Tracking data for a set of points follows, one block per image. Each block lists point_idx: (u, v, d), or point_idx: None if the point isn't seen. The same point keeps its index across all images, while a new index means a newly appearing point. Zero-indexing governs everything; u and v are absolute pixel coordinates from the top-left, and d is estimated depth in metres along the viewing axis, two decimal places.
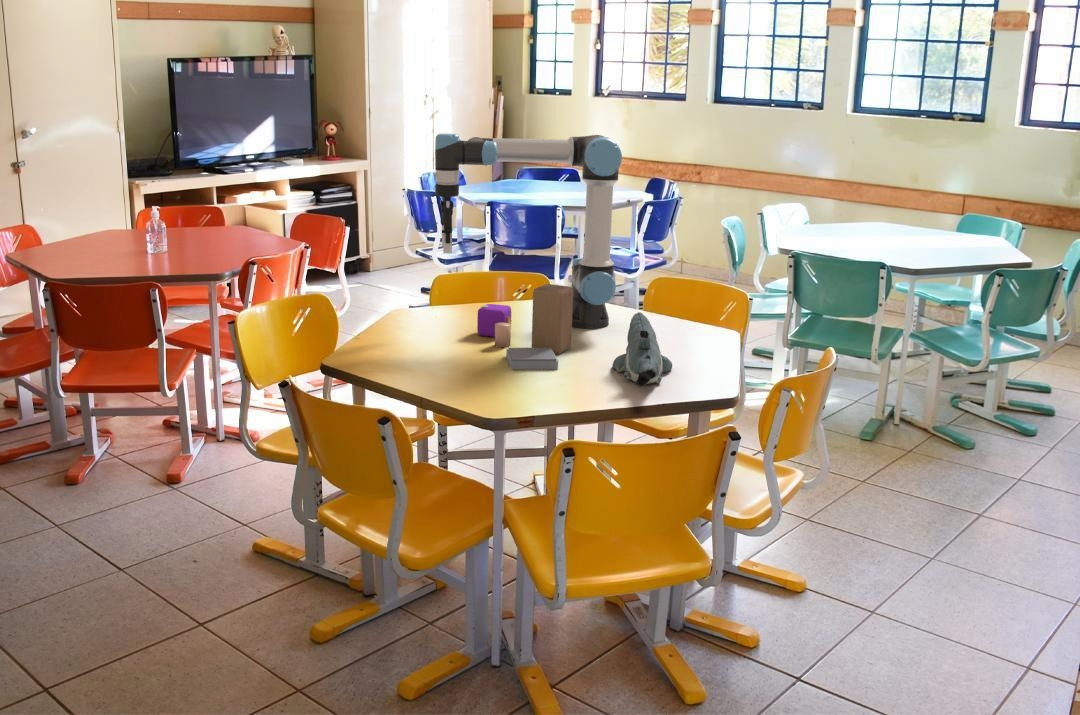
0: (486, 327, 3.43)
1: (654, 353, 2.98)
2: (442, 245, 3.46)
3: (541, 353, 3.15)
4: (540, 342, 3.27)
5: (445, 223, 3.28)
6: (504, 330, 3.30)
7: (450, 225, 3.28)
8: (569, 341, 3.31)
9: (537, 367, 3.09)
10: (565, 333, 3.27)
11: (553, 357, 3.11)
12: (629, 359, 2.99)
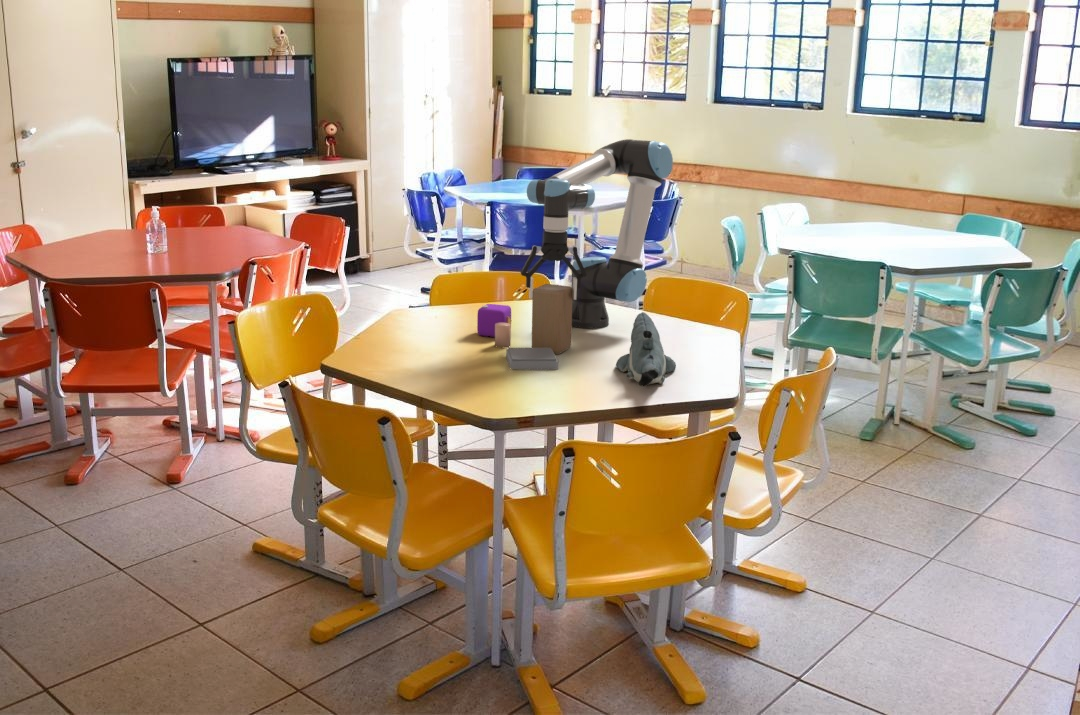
0: (486, 327, 3.43)
1: (657, 353, 2.98)
2: None
3: (541, 353, 3.15)
4: (540, 342, 3.27)
5: (523, 266, 3.24)
6: (504, 330, 3.30)
7: (523, 268, 3.22)
8: (569, 341, 3.31)
9: (537, 367, 3.09)
10: (565, 332, 3.27)
11: (553, 357, 3.11)
12: (632, 359, 3.00)
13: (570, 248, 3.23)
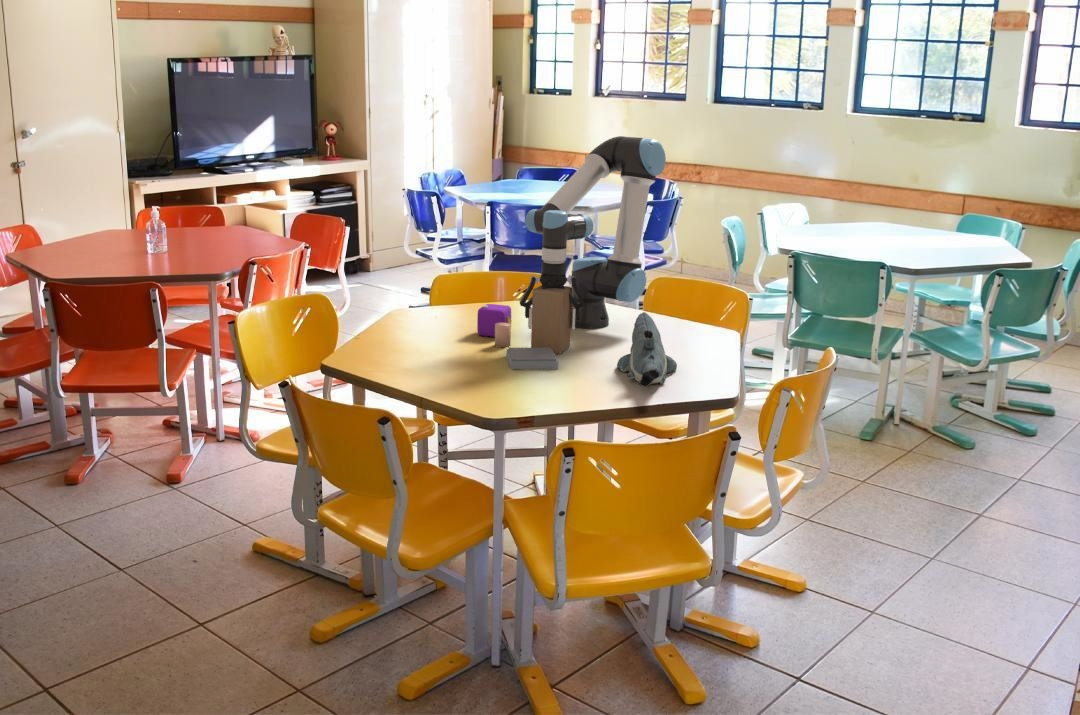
0: (486, 327, 3.43)
1: (658, 353, 2.98)
2: (571, 326, 3.31)
3: (541, 353, 3.15)
4: (539, 342, 3.27)
5: None
6: (504, 330, 3.30)
7: (522, 299, 3.25)
8: (568, 341, 3.31)
9: (537, 367, 3.09)
10: (564, 333, 3.27)
11: (553, 357, 3.11)
12: (633, 359, 3.00)
13: (568, 279, 3.25)
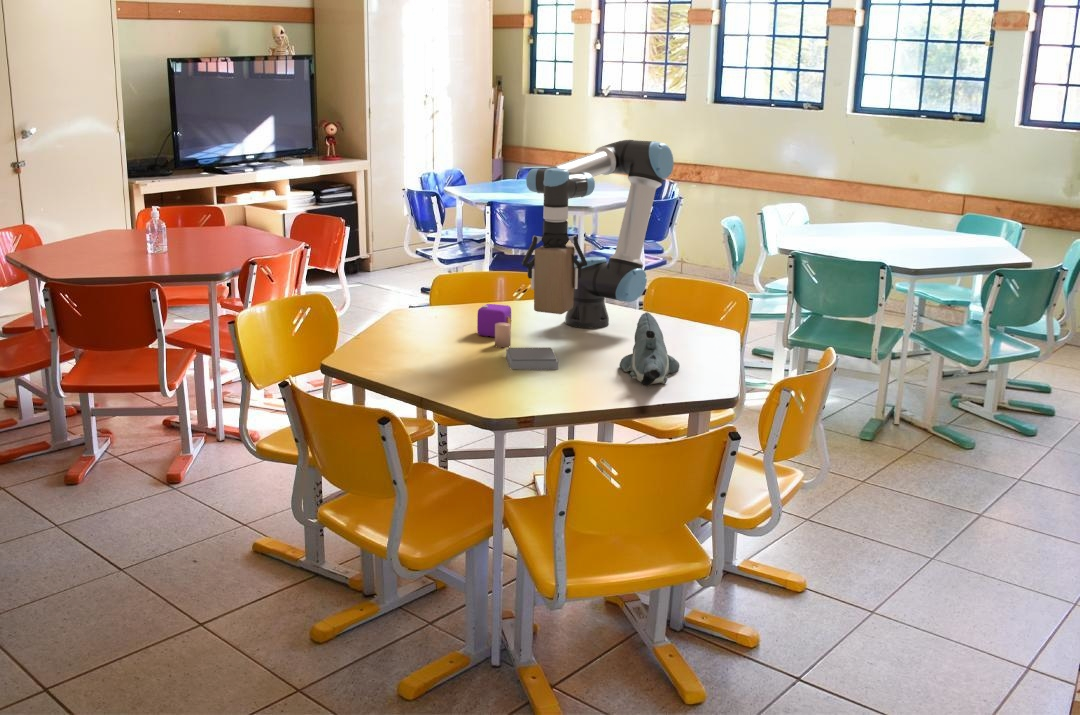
0: (486, 327, 3.43)
1: (660, 353, 2.98)
2: None
3: (541, 353, 3.15)
4: (542, 302, 3.24)
5: None
6: (504, 330, 3.30)
7: (524, 259, 3.22)
8: (571, 301, 3.28)
9: (537, 367, 3.09)
10: (567, 292, 3.24)
11: (553, 357, 3.11)
12: (635, 359, 3.00)
13: (571, 237, 3.22)
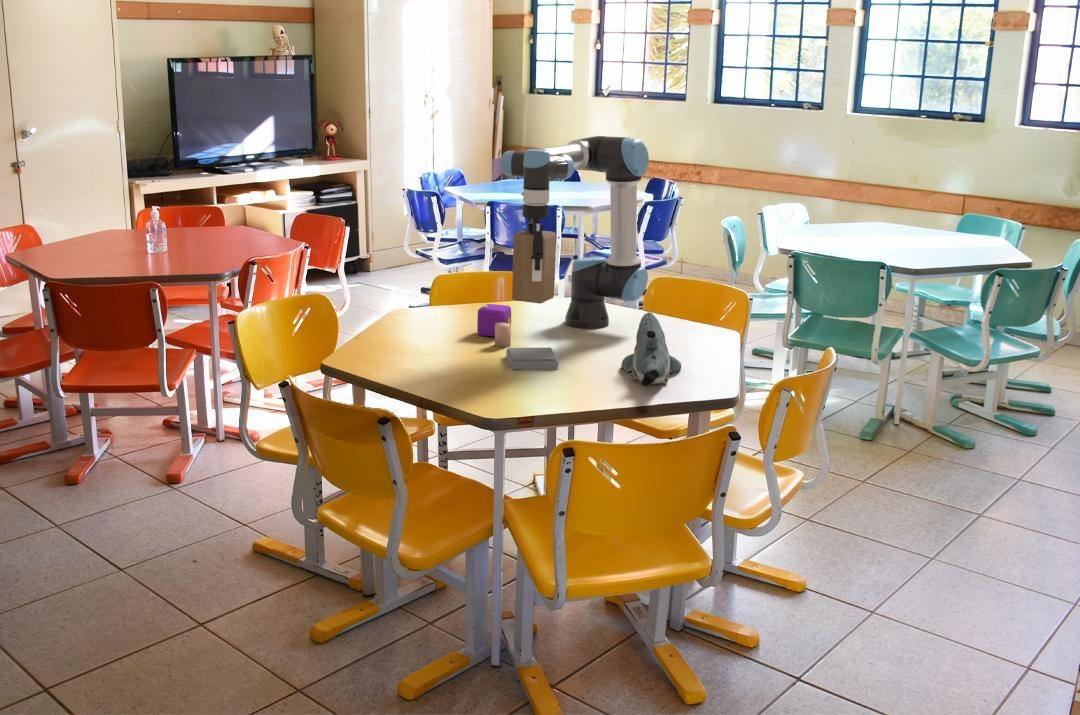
0: (486, 327, 3.43)
1: (660, 353, 2.98)
2: None
3: (541, 353, 3.15)
4: (546, 291, 3.07)
5: (535, 248, 2.98)
6: (504, 330, 3.30)
7: (541, 250, 2.98)
8: None
9: (537, 367, 3.09)
10: None
11: (553, 357, 3.11)
12: (636, 359, 3.00)
13: None
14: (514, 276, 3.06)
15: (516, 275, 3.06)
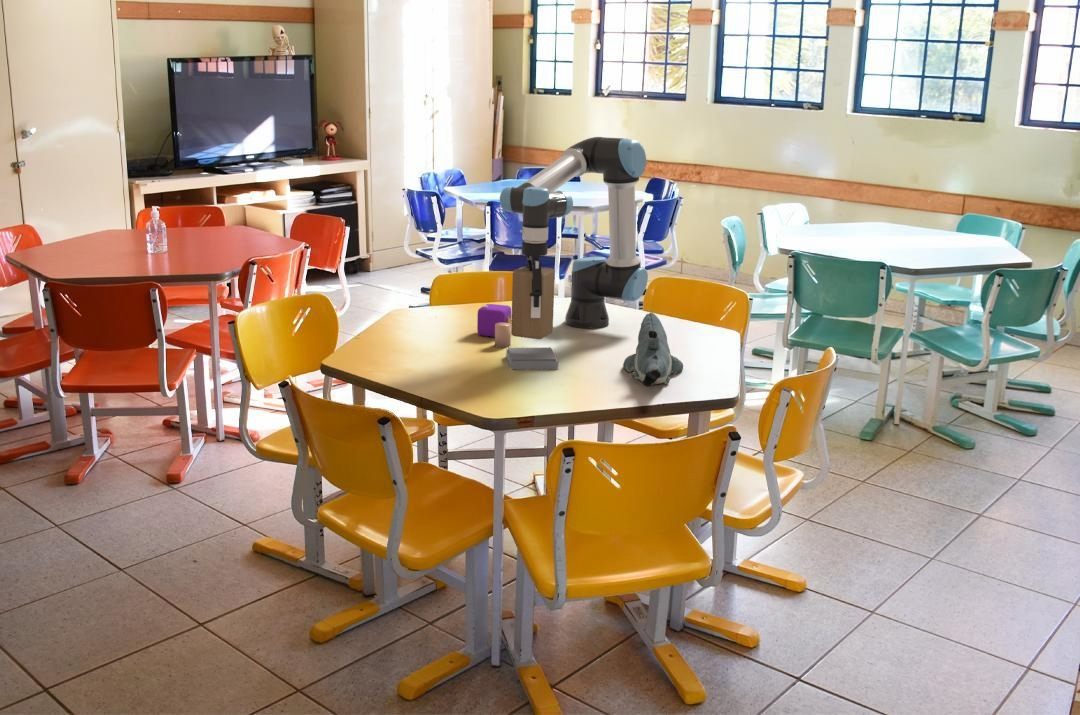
0: (486, 327, 3.43)
1: (662, 353, 2.97)
2: None
3: (541, 353, 3.15)
4: (545, 327, 3.09)
5: (534, 286, 3.00)
6: (504, 330, 3.30)
7: (540, 288, 3.00)
8: None
9: (537, 367, 3.09)
10: None
11: (553, 357, 3.11)
12: (638, 359, 3.00)
13: None
14: (513, 312, 3.09)
15: (515, 311, 3.08)
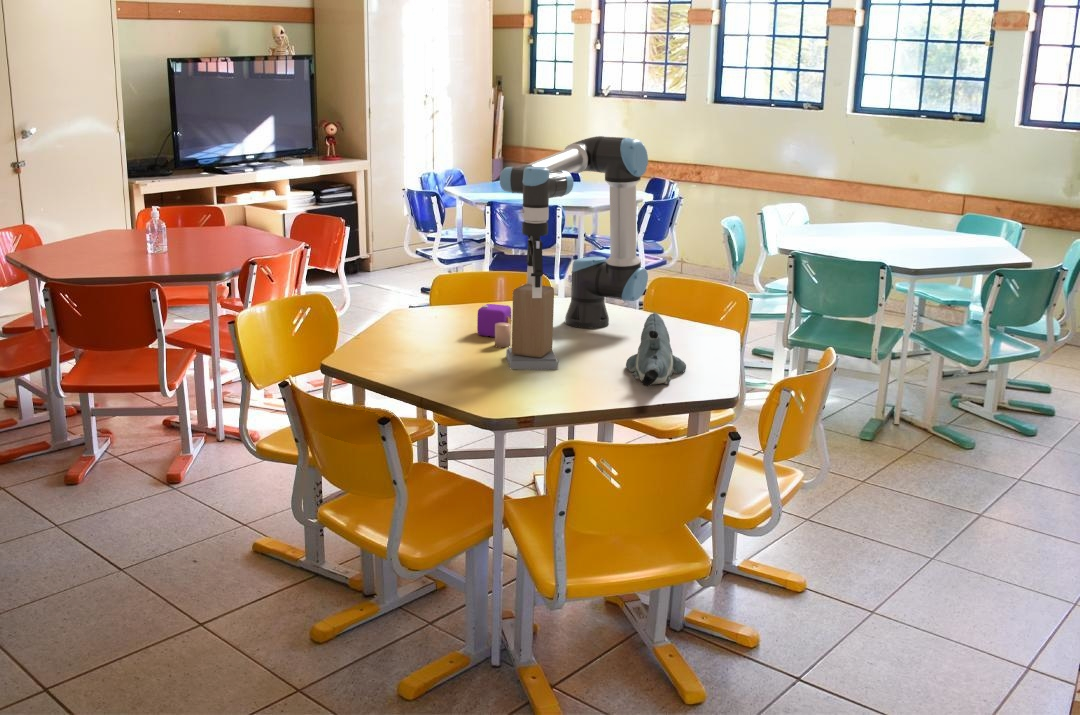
0: (486, 327, 3.43)
1: (663, 353, 2.97)
2: None
3: None
4: (546, 345, 3.11)
5: (535, 266, 2.99)
6: (504, 330, 3.30)
7: (541, 268, 2.99)
8: None
9: (537, 367, 3.09)
10: None
11: (553, 357, 3.11)
12: (639, 359, 3.00)
13: None
14: (514, 331, 3.10)
15: (515, 330, 3.10)
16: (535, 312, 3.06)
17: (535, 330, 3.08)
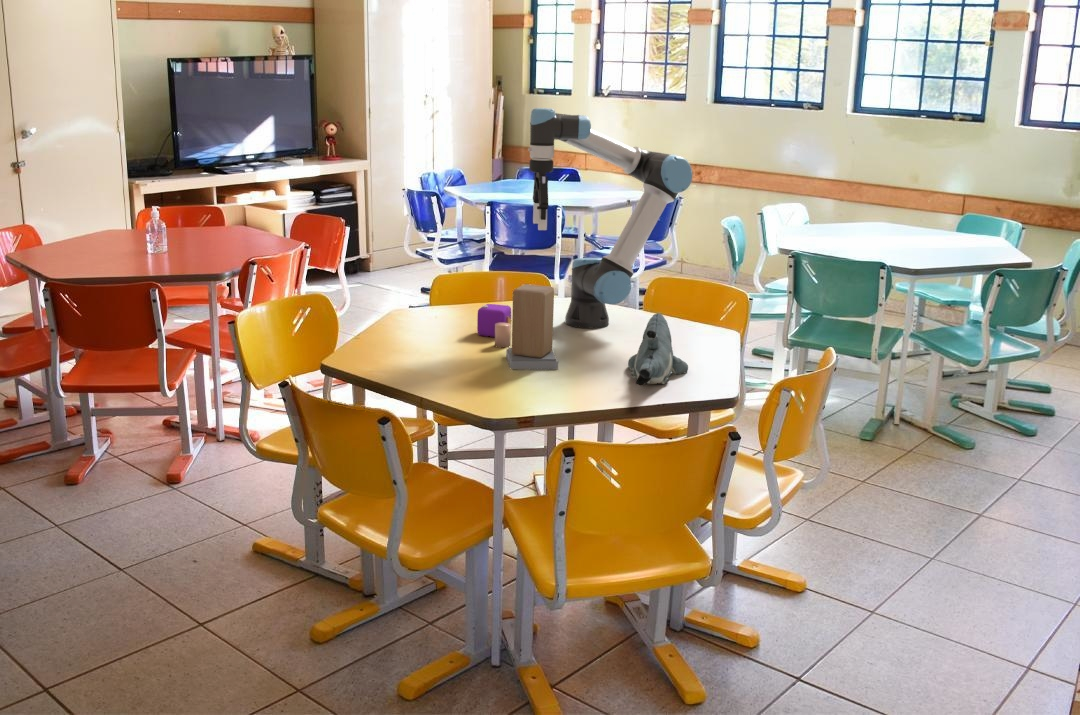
0: (486, 327, 3.43)
1: (661, 353, 2.97)
2: (533, 222, 3.40)
3: None
4: (546, 345, 3.11)
5: (541, 199, 3.23)
6: (504, 330, 3.30)
7: (546, 201, 3.23)
8: None
9: (537, 367, 3.09)
10: None
11: (553, 357, 3.11)
12: (637, 358, 3.00)
13: None
14: (514, 331, 3.10)
15: (515, 330, 3.10)
16: (535, 312, 3.06)
17: (535, 330, 3.08)
